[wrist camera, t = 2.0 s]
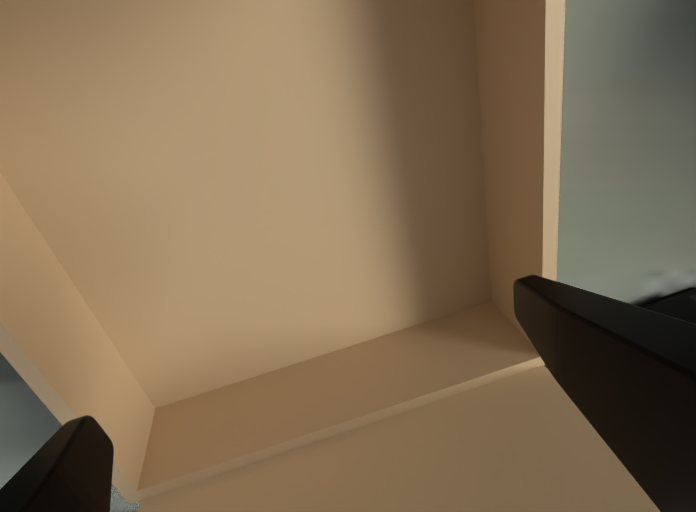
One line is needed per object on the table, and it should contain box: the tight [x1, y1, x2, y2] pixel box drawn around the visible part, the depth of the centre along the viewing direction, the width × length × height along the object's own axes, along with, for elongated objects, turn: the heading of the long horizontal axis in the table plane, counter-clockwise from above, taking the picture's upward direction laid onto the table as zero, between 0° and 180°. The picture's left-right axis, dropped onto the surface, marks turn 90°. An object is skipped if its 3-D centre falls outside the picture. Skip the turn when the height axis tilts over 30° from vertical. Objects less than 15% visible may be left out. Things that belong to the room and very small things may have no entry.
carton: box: [0, 0, 565, 504], centre depth 16 cm, size 19×19×5 cm
